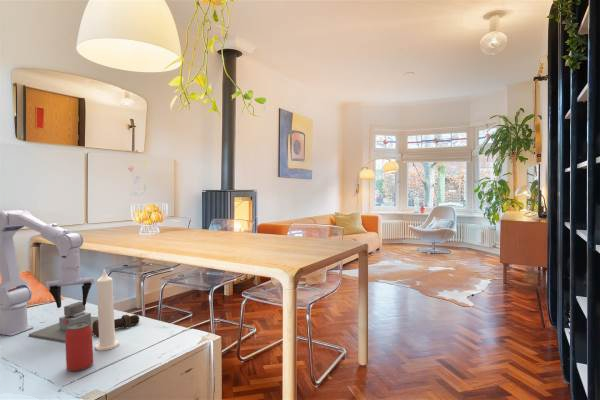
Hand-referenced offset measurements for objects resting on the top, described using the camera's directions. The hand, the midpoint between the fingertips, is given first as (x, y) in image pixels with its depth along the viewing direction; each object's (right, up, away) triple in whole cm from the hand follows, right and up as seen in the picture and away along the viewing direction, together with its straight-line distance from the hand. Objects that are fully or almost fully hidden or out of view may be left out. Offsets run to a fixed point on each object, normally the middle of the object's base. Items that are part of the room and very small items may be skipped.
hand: (72, 305), depth 129 cm
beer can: (+17, -11, -24) cm, 31 cm away
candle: (+18, -10, -10) cm, 23 cm away
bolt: (+14, -10, +4) cm, 18 cm away
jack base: (-2, -10, +5) cm, 12 cm away
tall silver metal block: (-2, -9, +5) cm, 11 cm away
